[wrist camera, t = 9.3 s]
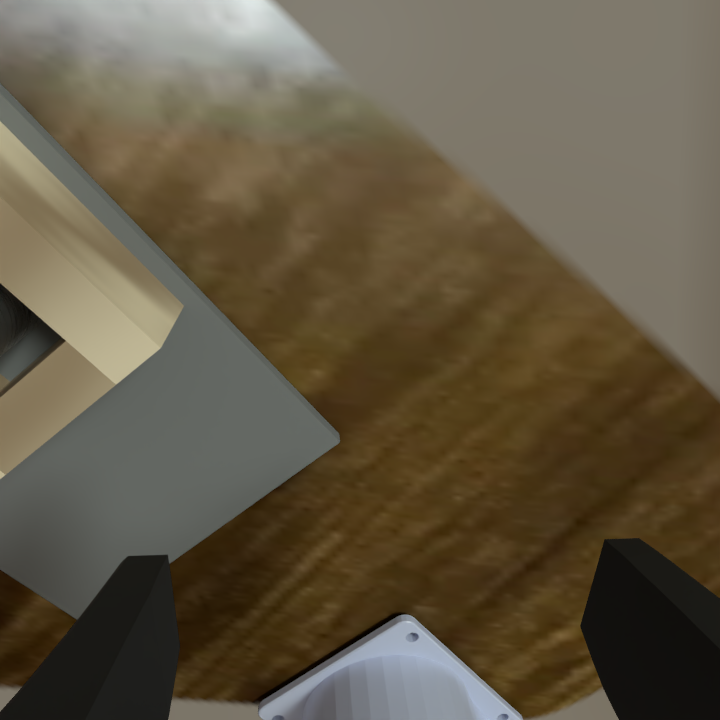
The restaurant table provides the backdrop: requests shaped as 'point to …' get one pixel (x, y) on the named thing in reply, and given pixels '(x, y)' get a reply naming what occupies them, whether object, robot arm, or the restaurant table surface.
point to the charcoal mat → (146, 430)
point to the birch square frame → (68, 303)
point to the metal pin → (14, 320)
